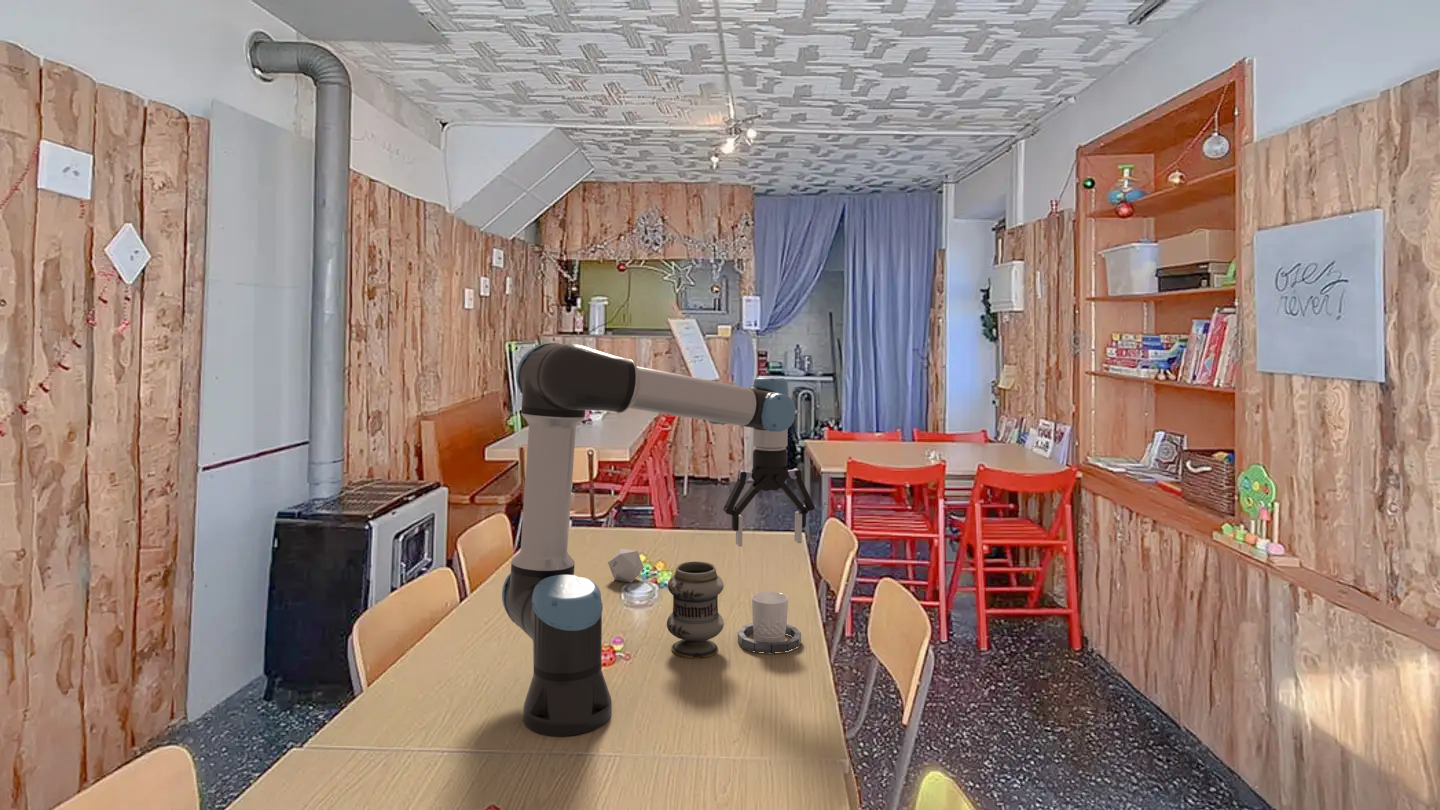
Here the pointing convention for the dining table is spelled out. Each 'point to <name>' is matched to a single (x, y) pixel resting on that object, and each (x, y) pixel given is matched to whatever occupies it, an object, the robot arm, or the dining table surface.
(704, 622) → the apothecary jar
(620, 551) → the die
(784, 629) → the white cup
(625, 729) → the dining table surface
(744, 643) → the collar ring
